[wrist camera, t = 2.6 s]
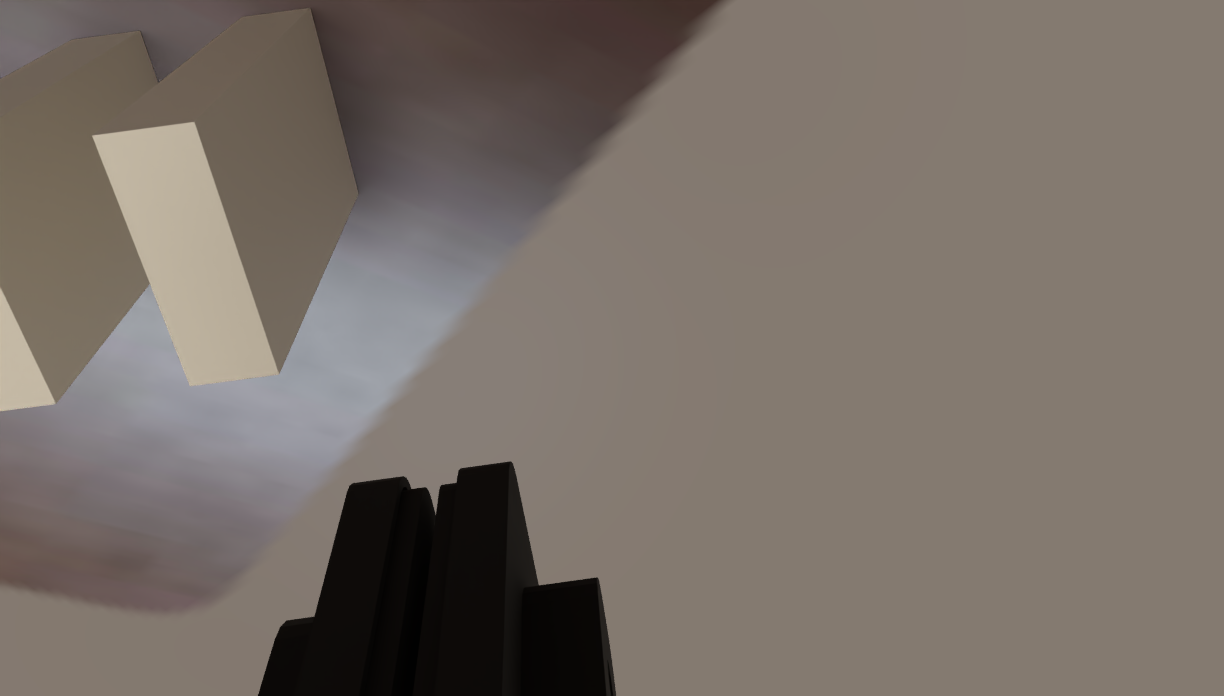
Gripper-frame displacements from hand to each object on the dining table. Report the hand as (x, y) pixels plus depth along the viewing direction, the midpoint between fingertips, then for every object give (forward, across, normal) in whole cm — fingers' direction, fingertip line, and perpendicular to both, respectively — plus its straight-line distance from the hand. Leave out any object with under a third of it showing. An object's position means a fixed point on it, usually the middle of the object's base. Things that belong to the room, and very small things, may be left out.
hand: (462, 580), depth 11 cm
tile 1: (+19, +6, 0) cm, 20 cm away
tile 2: (+19, +10, 0) cm, 22 cm away
